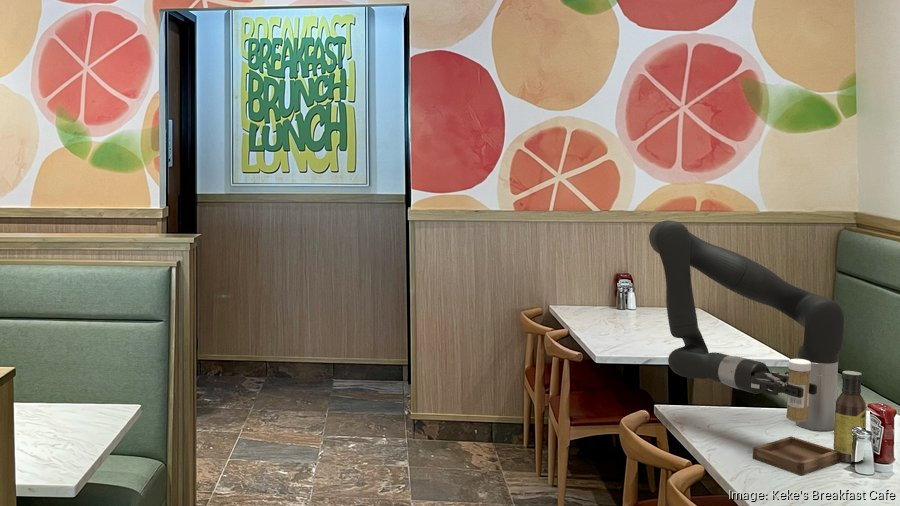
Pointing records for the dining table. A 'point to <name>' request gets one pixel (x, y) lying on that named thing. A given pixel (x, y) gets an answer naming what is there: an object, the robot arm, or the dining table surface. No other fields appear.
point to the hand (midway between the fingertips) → (808, 391)
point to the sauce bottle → (848, 413)
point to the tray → (796, 455)
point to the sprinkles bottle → (799, 378)
